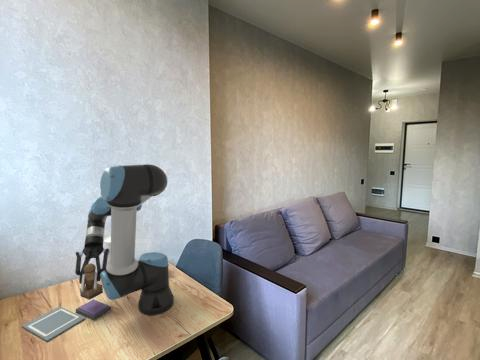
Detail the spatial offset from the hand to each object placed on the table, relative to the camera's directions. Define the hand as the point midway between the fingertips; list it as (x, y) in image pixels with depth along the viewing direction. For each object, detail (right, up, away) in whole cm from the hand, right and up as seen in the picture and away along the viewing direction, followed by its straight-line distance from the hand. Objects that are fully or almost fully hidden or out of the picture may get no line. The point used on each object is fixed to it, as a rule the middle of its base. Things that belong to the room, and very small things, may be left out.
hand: (88, 289), depth 107 cm
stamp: (-1, -4, +4) cm, 6 cm away
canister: (-6, -7, +40) cm, 41 cm away
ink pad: (0, -11, +4) cm, 12 cm away
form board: (-12, -12, -3) cm, 17 cm away
